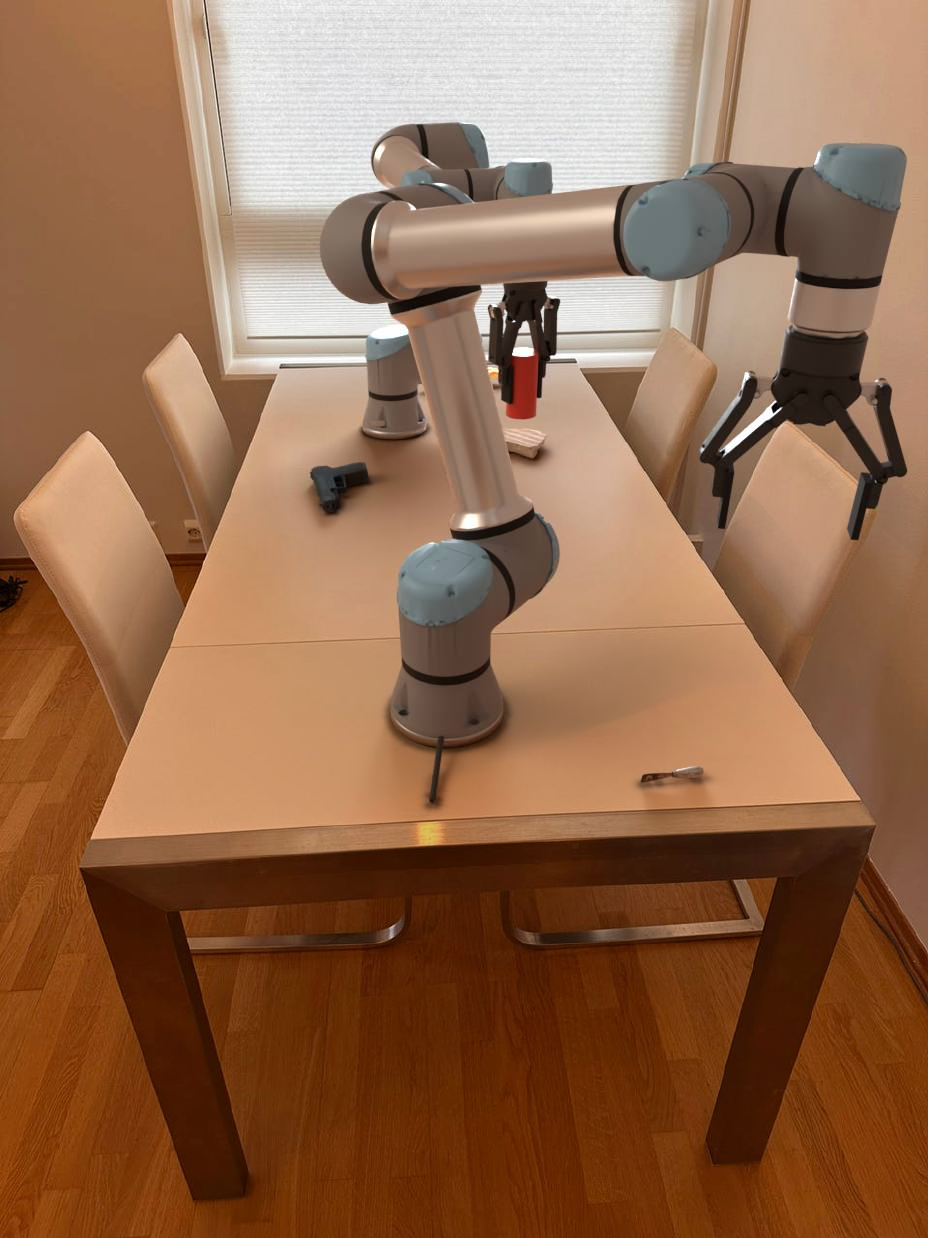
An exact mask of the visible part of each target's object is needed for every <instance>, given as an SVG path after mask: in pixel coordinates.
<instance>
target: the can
mask: <svg viewBox="0 0 928 1238" xmlns="http://www.w3.org/2000/svg"><path fill="white" fill-rule="evenodd" d="M538 358H539V352H538V351H537V350H535V349H534V348H531V347H514V351H513V355H512V359H511V363H510V366H512V367H514V377H513V404H508V403H506V402H505V415H506V417H508V418H510V419H513V420H529V419H530V420H531V419H533V418H535V417H536V416H537V404H538V402H537V401H538V398H537V382H538Z"/></svg>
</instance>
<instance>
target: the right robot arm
mask: <svg viewBox="0 0 928 1238" xmlns="http://www.w3.org/2000/svg"><path fill="white" fill-rule="evenodd" d="M907 162H908V159H907V155H906V152H905V151H904V150H903V148H901V147H900V146H897V145H894V144H886V143H885V144H884V143H869V142H868V143H867V142H859V143H852V142H836V143H827V144H825V145H823V146H822V147H821V148H820V149H819V150H818V152H817V156H816V159H815V161H814V162H813V164H812V166H805V167H804V166H803V167H800V166H798V167H791V166H789V167H787V166H775V165H774V166H773V165H761V164H760V165H759V164H746V163H745V164H744V163H734V162H732V161H726V160H724V161H721V162H705V163H703V162H698V163H695V164H693V165H692V166H690V167H689V168H688V169H687V170H686V172H685V174H684V175H683V176H682V177H680V178H674V179H673V178H672V179H665V180H664V179H663V180H656V181H648V182H642V183H635V184H624V185H616V186H607V187H599V188H590V189H589V188H587V189H581V190H572V191H563V192H562V191H561V192H554V193H552V194H545V195H536V196H528V197H519V198H510V199H501V200H493V201H484V202H475V203H474V202H473V201H472V200H471V199H470V198H469V197H468V196H467V195H466V194H465V193H463V192H461V191H460V190H459V189H457V188H456V187H453V186H451V185H448V184H442V183H424V182H422V183H419V184H412V185H409V186H404V187H399V188H393V189H389V188H387V189H384V190H378V191H370V192H364V193H359V194H356V195H353V196H351V197H349V198H346V199H344V200H343V201H341V202H340V203H339V204H338V205H337V206H336V207H335V208H334V209H333V210H332V211H331V212H330V214H329V216H327V218H326V220H325V222H324V224H323V227H322V231H321V233H320V238H319V255H320V260H321V264H322V268H323V270H324V272H325V273H324V274H325V275H326V277H327V278H328V280H329V281H330V283H331V285H332V286H333V287H334V288H335V289H336V290H337V291H338V292H339V293H340V294H341V295H343V296H344V297H345V298H348V299H350V300H352V301H354V302H356V303H359V304H365V305H378V304H379V305H381V304H386V303H387V307H388V311H389V314H390V317H391V318H392V319H393V320H394V321H397V322H398V323H399V324H400V325H402V326H403V325H404V326H405V327H406V328H407V330H408V333H409V337H410V341H411V345H412V348H413V352H414V356H415V359H416V363H417V367H418V370H419V374H420V378H421V381H422V384H421V385H422V389H423V392H424V395H425V400H426V404H427V406H428V407H427V408H428V410H429V414H430V418H431V422H432V425H433V429H434V432H435V436H436V437H435V438H436V441H437V444H438V447H439V451H440V455H441V458H442V462H443V465H444V469H445V474H446V477H447V481H448V484H449V488H450V492H451V495H452V499H453V502H454V503H453V504H454V506H455V511H454V513H453V514H452V516H451V518H450V519H449V521H448V528H449V531H450V534H451V538H452V539H451V538H450V539H442V540H440V542H439V543H435V541H434V542H433V541H432V542H428V543H426V544H424V545H421V546H420V547H418V548H417V549H415V550H413V551H412V552H411V553H410V554H408V556H406V558H405V559H404V560H403V562H402V563H401V565H400V568H399V571H398V577H397V589H396V602H397V606H398V608H397V609H398V620H399V621H398V622H399V633H400V634H399V638H400V639H399V640H400V655H401V667H400V669H399V672H398V675H397V678H396V681H395V684H394V687H393V690H392V693H391V696H390V704H389V705H390V718H391V721H392V724H393V725H394V727H395V728H396V729H397V731H398V732H399V733H400V734H402V735H403V736H404V737H406V738H407V739H409V740H411V741H413V742H415V743H417V744H420V745H421V744H422V745H425V746H430V747H436V748H435V749H436V750H435V757H434V763H433V771H432V778H431V784H430V785H431V786H430V792H429V796H428V797H429V798H428V802H429V803H430V804H434V803H435V802H436V798H437V791H438V786H439V778H440V771H441V765H442V764H441V763H442V756H443V749H444V748H454V747H455V748H457V747H463V746H467V745H471V744H473V743H476V742H480V741H481V740H483V739H485V738H486V737H488V736H489V735H491V734H492V733H493V732H494V731H495V730H496V729H498V727H499V726H500V724H501V722H502V720H503V717H504V697H503V693H502V690H501V687H500V685H499V682H498V679H497V677H496V674H495V672H494V668H493V666H492V664H491V654H492V653H491V651H492V649H491V648H492V647H491V645H492V633H493V631H494V629H495V628H497V626H499V625H500V624H501V623H502V622H504V621H505V620H506V619H507V618H508V617H509V616H511V615H512V614H513V613H515V612H516V611H517V610H518V609H520V608H521V607H522V606H523V605H525V604H526V603H527V602H528V601H529V600H532V599H533V598H535V597H537V596H538V595H539V594H540V593H542V591H544V588H545V587H546V586H547V585H548V583H549V582H550V581H552V579H554V577H555V574H556V572H557V570H558V567H559V564H560V557H561V549H560V543H559V539H558V536H557V534H556V531H555V529H554V528H553V526H552V524H551V523H550V522H548V521H547V522H546V520H545V517H544V516H543V515H542V514H541V513H539V512H537V511H536V510H535V507H534V504H533V501H532V500H531V499H530V498H528V497H527V496H525V495H523V494H521V493H520V492H519V490H518V486H517V482H516V477H515V474H514V470H513V465H512V462H511V457H510V453H509V451H508V448H507V444H506V440H505V436H504V432H503V428H504V427H503V425H502V420H501V416H500V412H499V408H498V404H497V399H496V395H495V391H494V388H493V382H492V379H491V378H490V374H489V370H488V368H489V366H488V363H487V358H486V354H485V350H484V349H485V348H484V346H483V340H482V341H481V337H480V333H481V332H480V333H479V331H480V329H479V325H478V320H477V317H476V313H475V308H476V305H477V302H478V301H479V299H480V298H481V295H482V293H483V288H482V286H484V285H485V286H487V285H499V284H500V285H501V284H502V285H503V284H504V283H521V282H537V281H548V282H550V281H551V282H552V281H570V280H585V279H587V280H588V279H602V278H603V279H604V278H620V277H622V278H623V277H646V278H649V279H651V280H654V281H657V282H673V281H680V280H686V279H691V278H695V277H696V276H698V275H700V274H702V273H703V272H705V271H706V270H708V269H710V268H712V267H714V266H716V265H718V264H720V263H722V262H724V261H727V260H730V259H732V258H733V257H736V256H739V255H740V254H753V255H754V254H755V255H766V256H767V255H769V256H780V257H786V258H790V257H793V258H797V265H796V266H797V267H796V271H795V276H794V278H795V279H794V284H793V289H792V295H791V299H790V304H789V309H788V314H787V321H788V322H789V323H790V324H791V325H789V326H788V327H787V328H785V330H784V335H783V341H782V346H781V353H780V358H779V363H778V368H777V370H776V373H775V375H774V376H773V377H768V376H763V375H757V374H756V372H754V371H753V370H748V371H746V372H745V373H744V374H743V377H742V380H741V384H740V388H739V392H738V393H737V394H736V395H735V397H734V398H733V400H732V401H731V402H730V404H729V405H728V407H727V409H725V411H724V413H723V414H722V416H721V417H720V418H719V419H718V421H717V423H716V424H715V425H714V427H713V428H712V430H711V431H710V432H709V434H708V435H707V437H705V440H704V441H702V444H701V445H700V446H699V452H698V453H699V454H698V455H699V461H700V462H701V463H702V464H708V465H710V466H712V467H713V474H712V481H711V487H710V488H711V495H712V497H713V498H719V502H718V509H717V517H716V523H717V529H718V530H726V525H727V520H728V515H729V514H728V513H729V508H730V501H731V495H732V490H733V485H734V484H733V483H734V477H735V467H734V466H735V465H734V463H735V462H737V461H738V460H739V459H740V458H741V457H742V456H744V455H745V454H746V453H747V452H748V451H750V450H751V449H752V448H753V447H754V446H755V445H757V444H758V443H759V442H760V441H761V440H762V439H764V438H765V437H766V436H767V435H768V434H769V433H771V432H772V431H773V430H774V429H777V428H778V427H780V426H781V425H782V424H784V423H785V422H786V421H789V422H791V423H792V425H797V426H798V425H799V426H802V425H808V424H811V425H814V426H818V427H827V425H829V424H832V423H833V422H835V423H836V424H837V426H838V428H840V431H841V432H842V433H843V434H844V436H845V437H846V439H847V440H848V443H850V445H851V446H852V448H853V450H854V451H855V452H856V454H857V456H858V457H859V458H860V460H861V462H862V463H863V465H864V467H865V468H866V469H867V471H868V472H865V471H864V472H863V471H860V475H859V478H858V482H857V487H856V492H855V494H854V499H853V503H852V507H851V511H850V515H849V518H848V523H847V527H846V530H847V533H848V536H849V538H850V540H851V541H859V539H860V536H861V532H862V528H863V524H864V521H865V520H864V519H865V517H866V513H867V510H875V509H876V508H877V507H878V505H879V503H880V498H881V493H882V491H883V487H884V485H886V484H887V482H889V479H890V478H895V477H897V478H903V477H905V476H906V475H907V473H908V467H907V464H906V460H905V456H904V452H903V450H902V446H901V442H900V439H899V436H898V431H897V428H896V425H895V421H894V418H893V414H892V411H891V404H892V396H893V395H892V394H893V388H892V387H891V384H890V383H889V382H888V380H887V378H885V377H878V378H877V379H876V380H874V381H868V382H867V381H866V382H861V381H860V379H861V378H860V376H861V371H862V368H863V363H864V359H865V355H866V350H867V346H868V341H869V335H868V334H867V332H866V330H868V329H869V328H871V327H872V324H873V320H874V315H875V311H876V306H877V303H878V298H879V293H880V288H881V283H882V279H883V274H884V271H885V266H886V262H887V258H888V254H889V251H890V246H891V242H892V238H893V234H894V230H895V225H896V222H897V218H898V215H899V211H900V209H901V205H902V202H901V197H902V191H903V186H904V180H905V176H906V175H905V173H906V168H907ZM767 391H770V393H771V395H772V397H773V398H774V401H773V402H772V403H771V404H770V405H769V406H768V407H766V409H765V410H764V412H763V413H761V414H760V415H759V416H758V417H757V418H756V419H755V420H754V421H752V422H751V423H750V424H749V425H748V426H746V428H745V429H743V430H742V431H741V432H740V433H739V434H738V435H736V436H735V437H734V438H733V439H732V440H731V441H730V442H729V443H727V444H726V445H725V446H724V447H722V446H723V444H724V443H725V442H726V440H727V439H728V437H729V436H730V435H731V433H733V431H734V429H735V428H736V427H737V425H738V424H739V422H740V421H741V419H742V418H743V417H744V415H745V414H746V412H747V411H748V410H749V409H750V407H751V405H752V404H753V401H754V399H755V400H756V399H759V398H761V397H762V396H763V394H764V393H765V392H767ZM861 396H862V397H865V401H866V402H867V404H868V405H869V406H872V408H873V411H874V415H875V418H876V421H877V422H876V423H877V425H878V429H879V432H880V436H881V438H882V443H883V445H884V450H885V454H886V457H887V461H883V462H881V461H880V459H879V458H878V456H877V454H876V453H875V452H874V450H873V448H871V446H870V444H869V443H868V441H867V440H866V438H865V436H864V435H863V434H862V432H861V430H860V429H859V427H858V426H857V424H856V423H855V421H854V420H853V419H852V417H851V415H850V413H849V411H848V409H849V408H850V407H851V406H852V405H854V403H855V402H857V400H859V398H860V397H861ZM721 447H722V448H721Z"/></svg>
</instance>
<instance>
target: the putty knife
mask: <svg viewBox="0 0 928 1238" xmlns="http://www.w3.org/2000/svg"><path fill="white" fill-rule="evenodd" d="M704 772H705V771H704V768H702V767H701V766H697V765H695V766H688V767H683V768H679V769H675V770H673V771H671V772H653V773H652V772H651V773H650V772H649V773H644V774H642V776H641V779H640V783H642V784H645V783H648V782H653V781H659V780H665V779H668V778H673V779H674V778H675V779H693V778H694V779H695V778H700V777H702V776H703V775H704Z"/></svg>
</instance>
